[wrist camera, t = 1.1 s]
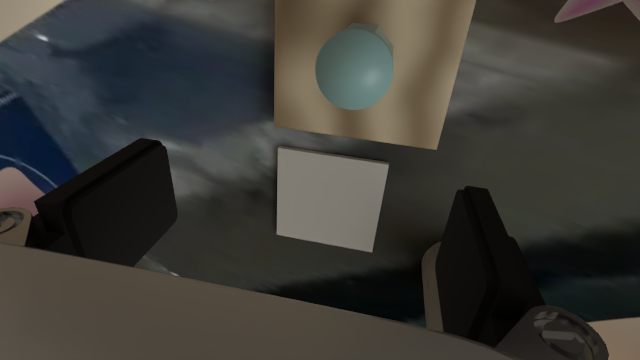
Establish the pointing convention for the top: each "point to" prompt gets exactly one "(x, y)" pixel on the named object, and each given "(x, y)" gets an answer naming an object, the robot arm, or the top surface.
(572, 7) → the lily
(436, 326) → the thermos bottle
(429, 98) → the post block
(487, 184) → the top surface
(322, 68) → the cap
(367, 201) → the grey mat
